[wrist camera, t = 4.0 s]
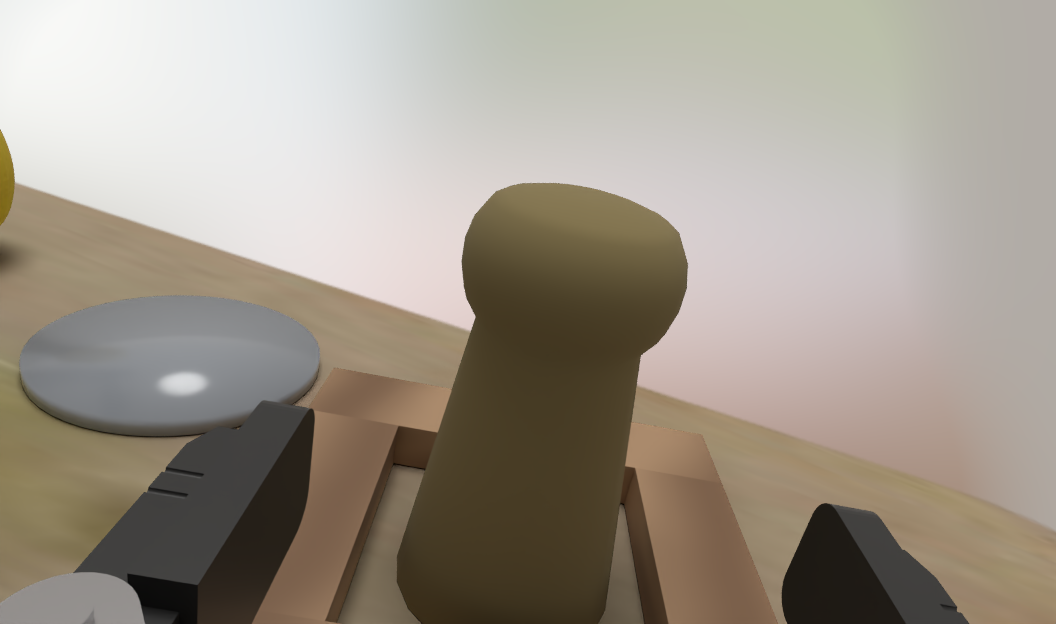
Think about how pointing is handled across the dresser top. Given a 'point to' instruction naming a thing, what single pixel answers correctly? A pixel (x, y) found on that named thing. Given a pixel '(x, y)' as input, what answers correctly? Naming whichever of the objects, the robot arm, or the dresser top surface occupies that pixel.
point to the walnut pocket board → (407, 438)
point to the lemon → (5, 179)
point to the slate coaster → (167, 364)
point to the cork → (540, 408)
